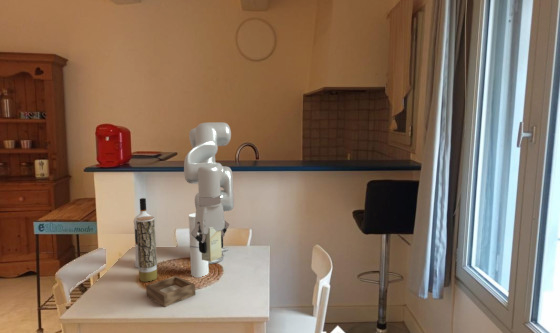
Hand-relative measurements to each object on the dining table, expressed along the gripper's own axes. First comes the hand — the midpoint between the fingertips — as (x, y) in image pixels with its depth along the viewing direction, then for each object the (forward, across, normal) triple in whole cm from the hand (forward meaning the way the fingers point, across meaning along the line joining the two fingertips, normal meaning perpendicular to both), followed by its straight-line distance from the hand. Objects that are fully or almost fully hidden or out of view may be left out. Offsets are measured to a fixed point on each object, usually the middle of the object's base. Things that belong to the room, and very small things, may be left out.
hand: (211, 249), depth 141 cm
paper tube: (+18, +8, -32) cm, 37 cm away
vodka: (+18, +1, -47) cm, 50 cm away
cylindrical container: (+18, -9, -20) cm, 29 cm away
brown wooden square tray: (+17, +10, -12) cm, 23 cm away
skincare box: (+4, 0, 0) cm, 4 cm away
